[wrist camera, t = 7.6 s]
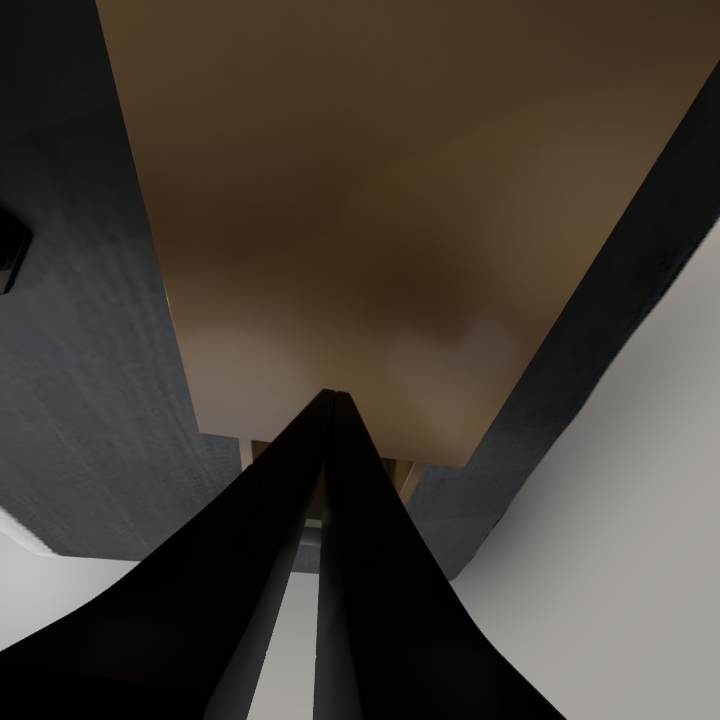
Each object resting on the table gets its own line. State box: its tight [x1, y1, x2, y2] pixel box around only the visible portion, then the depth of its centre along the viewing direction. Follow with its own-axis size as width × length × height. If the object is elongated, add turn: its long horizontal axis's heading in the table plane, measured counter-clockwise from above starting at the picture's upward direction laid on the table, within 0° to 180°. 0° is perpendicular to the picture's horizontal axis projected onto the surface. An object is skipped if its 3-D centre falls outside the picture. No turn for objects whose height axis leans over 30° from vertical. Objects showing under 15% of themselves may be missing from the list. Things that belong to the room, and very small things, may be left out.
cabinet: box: [95, 0, 720, 468], centre depth 13 cm, size 17×14×10 cm
